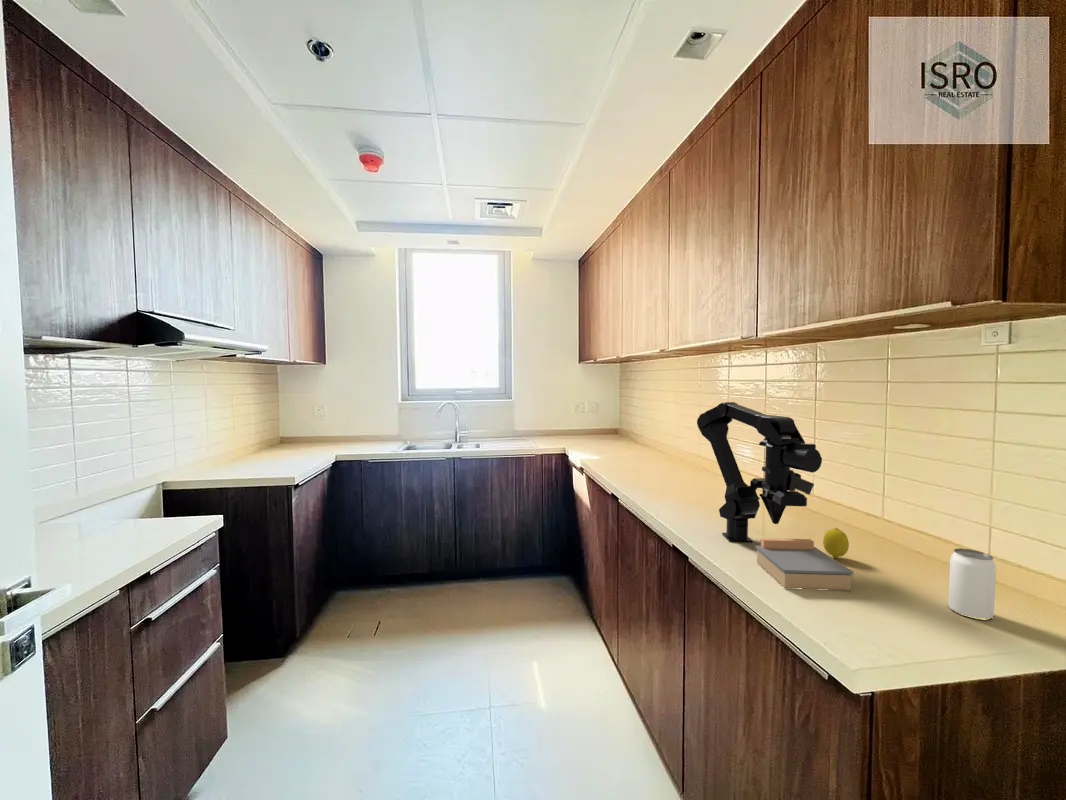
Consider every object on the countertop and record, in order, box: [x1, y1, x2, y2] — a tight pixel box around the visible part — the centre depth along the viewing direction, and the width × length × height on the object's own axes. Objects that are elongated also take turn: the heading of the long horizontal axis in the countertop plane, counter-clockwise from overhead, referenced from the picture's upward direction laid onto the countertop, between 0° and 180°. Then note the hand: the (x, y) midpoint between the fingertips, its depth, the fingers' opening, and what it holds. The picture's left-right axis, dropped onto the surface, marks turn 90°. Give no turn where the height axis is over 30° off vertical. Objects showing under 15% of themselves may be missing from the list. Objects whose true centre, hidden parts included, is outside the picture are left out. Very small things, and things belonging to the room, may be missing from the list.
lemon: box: [822, 527, 850, 559], centre depth 117 cm, size 6×6×8 cm
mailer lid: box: [755, 537, 854, 576], centre depth 105 cm, size 15×15×3 cm
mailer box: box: [756, 549, 852, 592], centre depth 106 cm, size 14×14×4 cm
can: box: [948, 548, 997, 619], centre depth 89 cm, size 6×6×12 cm
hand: (775, 523), depth 118 cm, fingers closed
